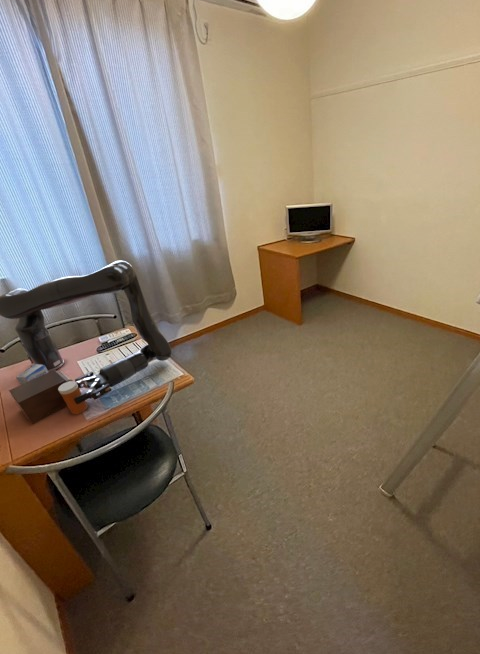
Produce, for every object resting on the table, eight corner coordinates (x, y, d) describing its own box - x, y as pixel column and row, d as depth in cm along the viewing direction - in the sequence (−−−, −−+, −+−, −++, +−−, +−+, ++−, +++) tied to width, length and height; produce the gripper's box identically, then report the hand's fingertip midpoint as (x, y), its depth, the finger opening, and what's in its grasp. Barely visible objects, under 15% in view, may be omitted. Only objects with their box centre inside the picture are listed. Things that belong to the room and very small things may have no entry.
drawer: (71, 384, 123) (63, 368, 119) (82, 394, 117) (73, 377, 114) (29, 405, 114) (18, 389, 110) (38, 416, 108) (27, 400, 105)
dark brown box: (65, 389, 122) (54, 369, 117) (76, 400, 116) (65, 379, 111) (22, 410, 113) (8, 390, 108) (32, 424, 107) (18, 402, 102)
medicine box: (36, 396, 119) (25, 377, 115) (26, 395, 120) (15, 376, 116) (54, 383, 126) (44, 364, 122) (45, 382, 127) (34, 363, 122)
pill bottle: (68, 410, 112) (55, 387, 107) (84, 401, 115) (72, 379, 110) (74, 416, 109) (61, 393, 104) (90, 407, 112) (79, 384, 107)
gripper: (105, 357, 121) (56, 380, 110) (124, 369, 113) (74, 396, 102) (112, 373, 125) (66, 397, 114) (131, 387, 117) (83, 414, 106)
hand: (69, 396), depth 108 cm, fingers open, 8 cm apart
